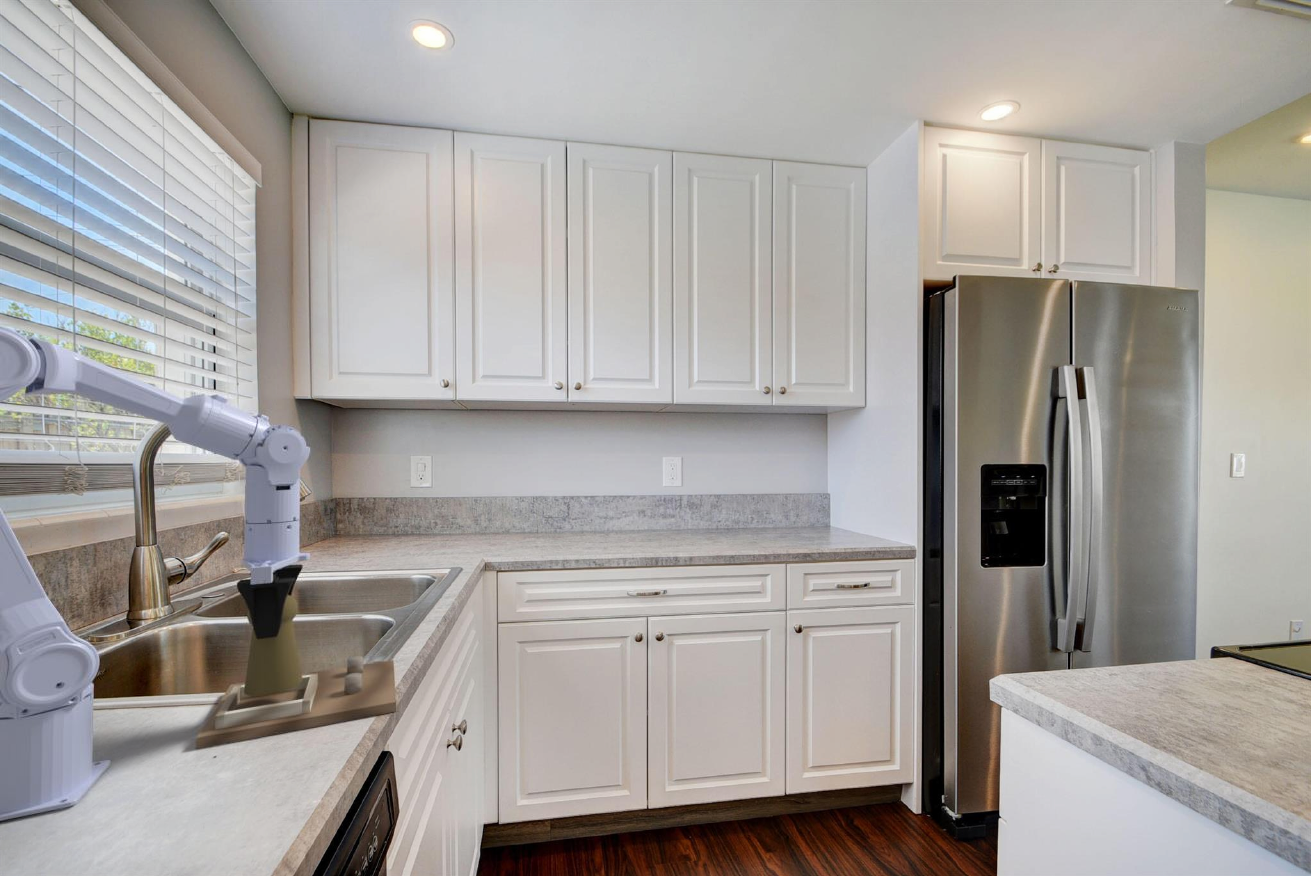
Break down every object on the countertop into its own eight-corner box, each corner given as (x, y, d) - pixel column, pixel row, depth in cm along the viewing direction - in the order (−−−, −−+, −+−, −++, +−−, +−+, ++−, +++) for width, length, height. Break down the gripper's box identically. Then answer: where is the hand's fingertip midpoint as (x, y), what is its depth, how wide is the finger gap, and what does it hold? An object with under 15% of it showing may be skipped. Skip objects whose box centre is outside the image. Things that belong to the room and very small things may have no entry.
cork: (235, 699, 67) (234, 605, 67) (254, 679, 72) (253, 593, 73) (294, 691, 69) (292, 600, 69) (308, 672, 74) (307, 588, 74)
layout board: (196, 748, 62) (196, 719, 62) (230, 693, 77) (230, 669, 77) (396, 711, 71) (396, 685, 71) (393, 667, 85) (393, 646, 85)
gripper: (302, 525, 66) (301, 643, 66) (315, 513, 79) (315, 611, 79) (228, 529, 63) (227, 652, 63) (254, 516, 76) (253, 618, 76)
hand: (271, 630), depth 71 cm, fingers closed on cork, 5 cm apart
